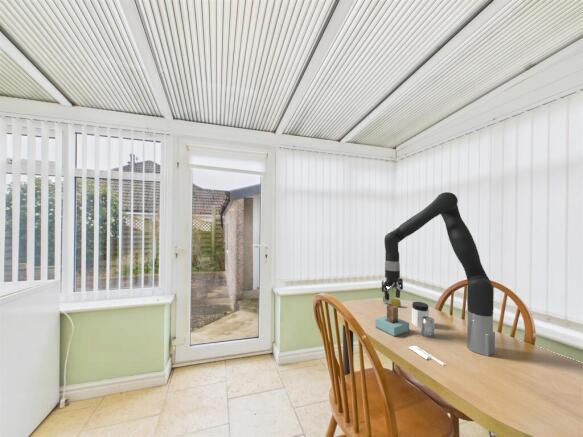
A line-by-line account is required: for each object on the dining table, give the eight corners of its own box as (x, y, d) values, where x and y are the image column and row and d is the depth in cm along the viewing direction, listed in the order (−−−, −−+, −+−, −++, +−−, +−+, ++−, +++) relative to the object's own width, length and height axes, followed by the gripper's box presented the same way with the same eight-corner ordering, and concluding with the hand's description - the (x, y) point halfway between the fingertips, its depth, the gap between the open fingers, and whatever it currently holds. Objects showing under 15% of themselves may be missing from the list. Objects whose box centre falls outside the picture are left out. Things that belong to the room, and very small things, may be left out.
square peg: (397, 328, 129) (398, 306, 129) (392, 330, 127) (393, 308, 127) (391, 325, 132) (391, 304, 132) (386, 327, 130) (386, 305, 130)
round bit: (436, 337, 122) (436, 319, 122) (429, 339, 119) (429, 322, 119) (425, 332, 127) (425, 315, 127) (418, 334, 124) (419, 317, 124)
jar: (425, 329, 130) (425, 308, 130) (409, 324, 136) (410, 304, 136) (430, 324, 136) (430, 304, 136) (415, 320, 142) (415, 300, 142)
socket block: (409, 332, 127) (409, 322, 127) (394, 337, 121) (394, 327, 121) (390, 323, 138) (390, 314, 138) (375, 327, 132) (375, 318, 132)
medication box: (382, 302, 173) (382, 297, 173) (384, 301, 175) (384, 295, 174) (399, 306, 164) (398, 301, 164) (401, 305, 166) (400, 299, 165)
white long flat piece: (436, 366, 96) (437, 363, 96) (408, 348, 110) (408, 345, 110) (446, 366, 97) (446, 363, 97) (416, 348, 111) (417, 345, 111)
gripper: (389, 271, 123) (389, 303, 123) (406, 268, 129) (407, 298, 129) (377, 269, 129) (377, 298, 129) (395, 266, 136) (395, 294, 136)
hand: (392, 298), depth 129 cm, fingers open, 8 cm apart
